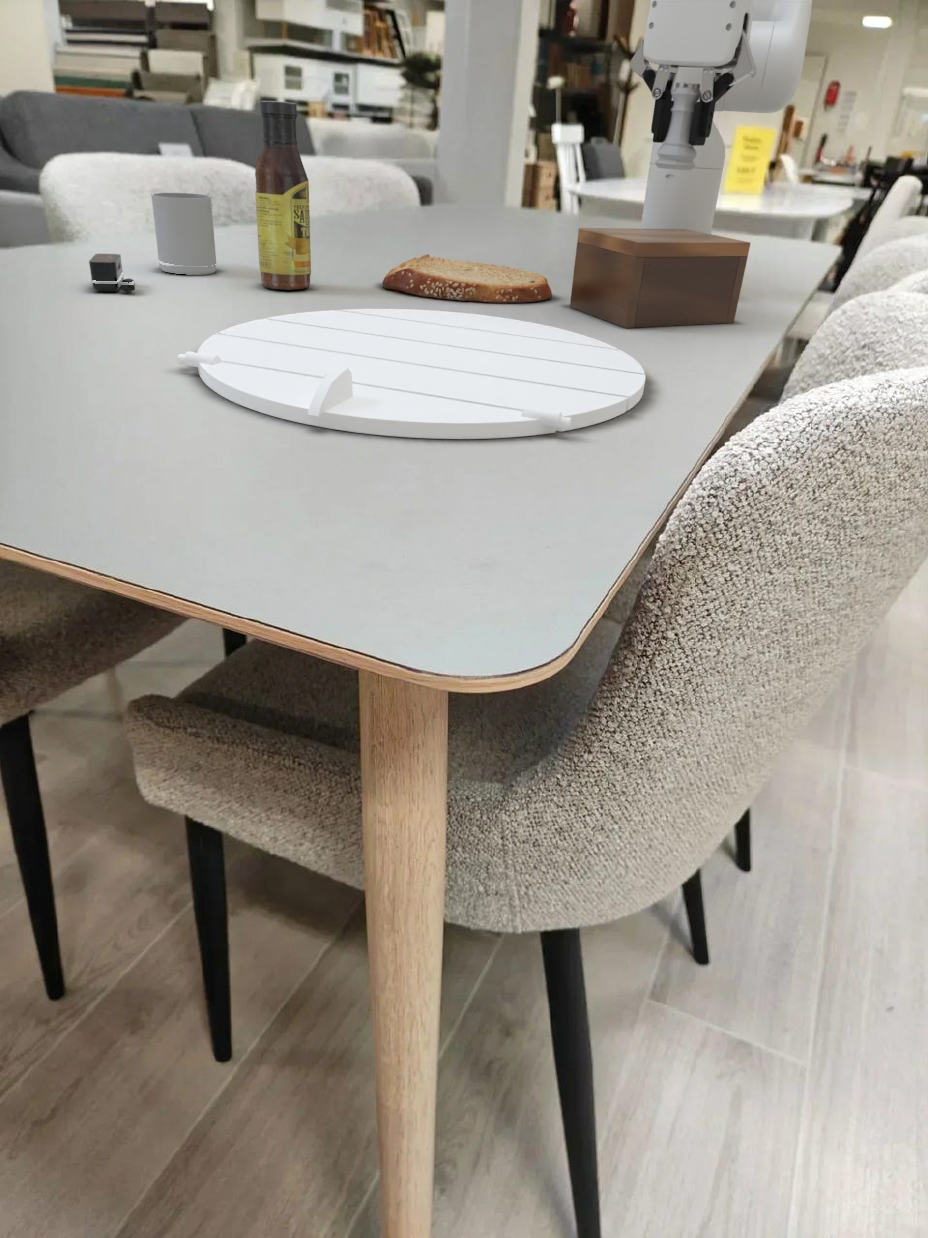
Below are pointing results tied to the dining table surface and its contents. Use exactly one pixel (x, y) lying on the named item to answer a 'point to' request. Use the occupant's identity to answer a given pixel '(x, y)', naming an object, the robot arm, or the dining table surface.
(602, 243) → the wooden box
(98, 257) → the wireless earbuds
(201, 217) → the cup
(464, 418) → the lazy susan
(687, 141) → the rook chess piece
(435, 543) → the dining table surface
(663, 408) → the dining table surface
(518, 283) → the slice of bread
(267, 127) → the sauce bottle
